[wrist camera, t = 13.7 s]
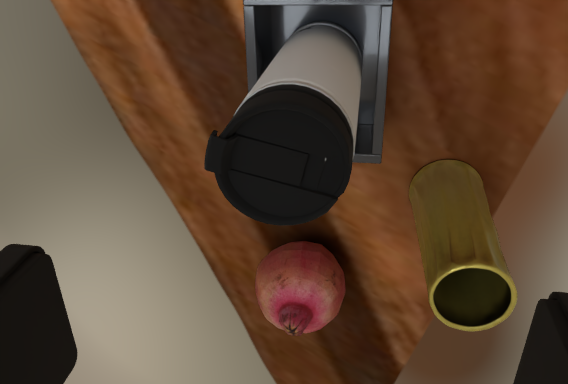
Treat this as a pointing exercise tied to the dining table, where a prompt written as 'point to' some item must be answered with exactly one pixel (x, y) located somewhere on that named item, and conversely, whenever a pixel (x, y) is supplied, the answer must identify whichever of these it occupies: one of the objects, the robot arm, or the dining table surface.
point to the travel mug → (293, 130)
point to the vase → (460, 247)
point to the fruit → (300, 287)
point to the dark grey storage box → (353, 16)
